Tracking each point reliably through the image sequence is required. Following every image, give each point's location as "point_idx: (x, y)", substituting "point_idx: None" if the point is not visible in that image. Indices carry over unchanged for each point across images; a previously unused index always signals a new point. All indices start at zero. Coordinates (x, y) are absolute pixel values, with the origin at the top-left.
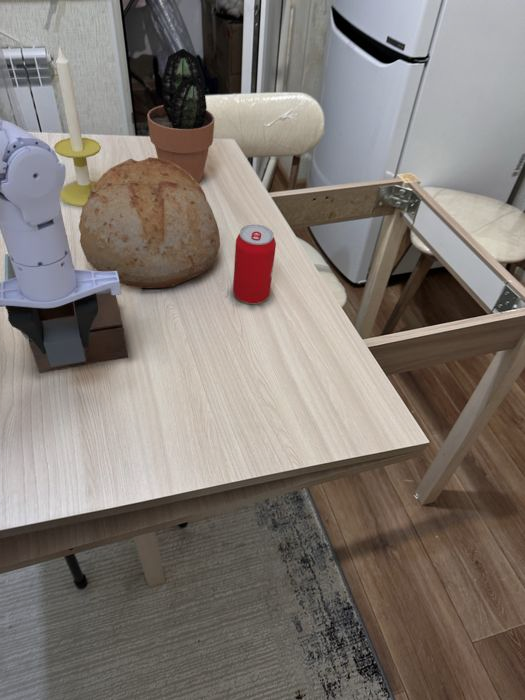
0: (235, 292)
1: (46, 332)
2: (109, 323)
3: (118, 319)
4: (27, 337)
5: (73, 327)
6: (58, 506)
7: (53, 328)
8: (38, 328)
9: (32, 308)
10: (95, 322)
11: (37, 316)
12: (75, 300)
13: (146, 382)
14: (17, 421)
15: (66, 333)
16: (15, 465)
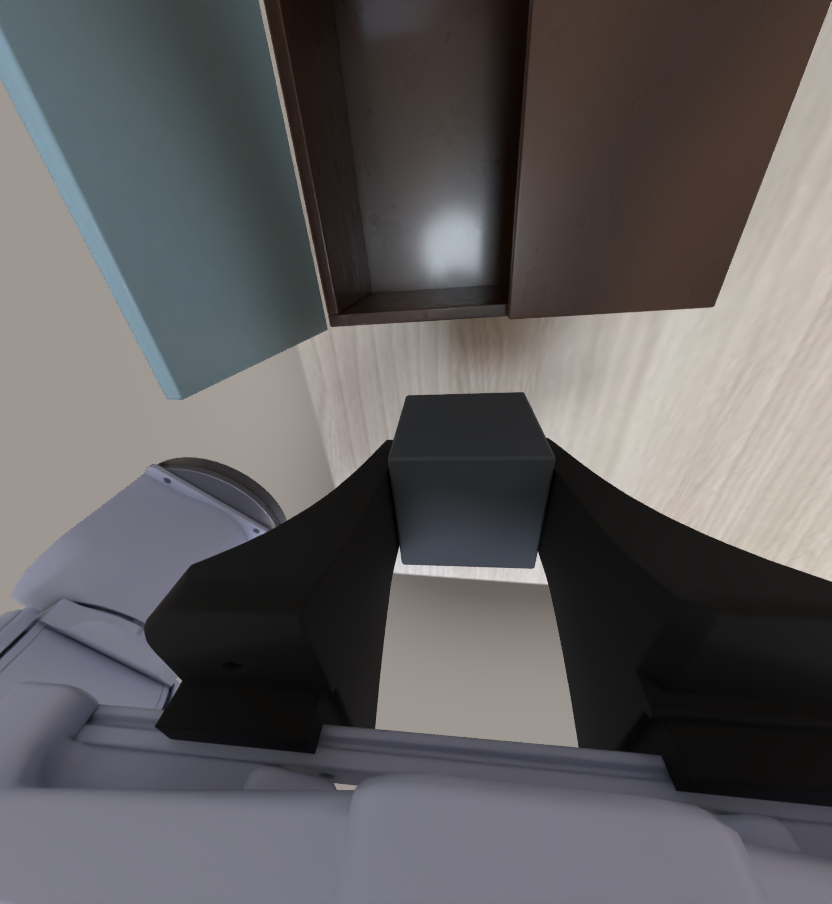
0: None
1: (408, 521)
2: (657, 300)
3: (712, 277)
4: (323, 330)
5: (520, 521)
6: (418, 567)
7: (436, 510)
8: (384, 597)
9: (355, 722)
10: (599, 280)
11: (372, 556)
12: (628, 749)
13: (625, 390)
14: (341, 432)
15: (486, 543)
16: None
